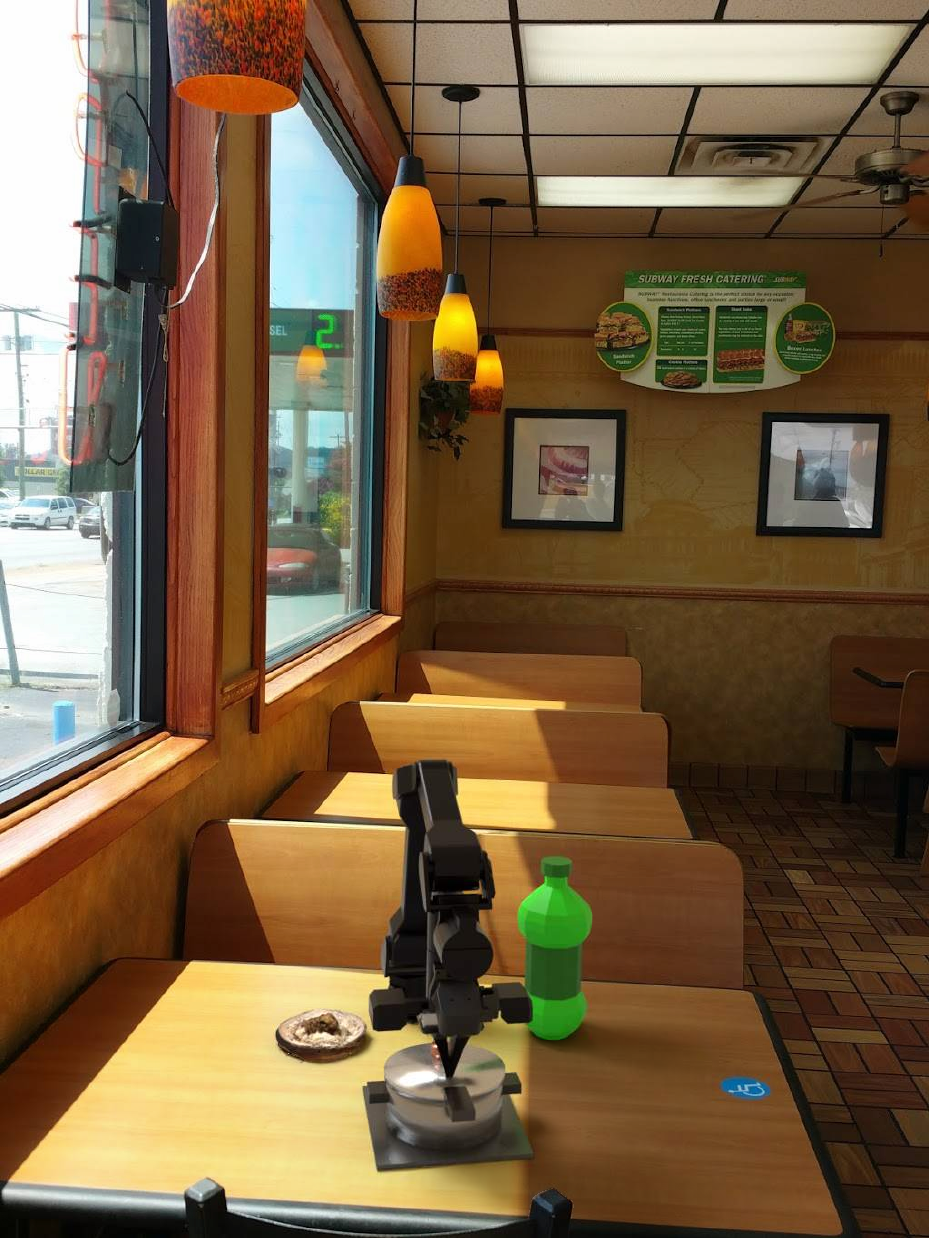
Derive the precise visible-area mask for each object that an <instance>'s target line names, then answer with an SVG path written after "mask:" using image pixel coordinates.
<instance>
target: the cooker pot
mask: <svg viewBox="0 0 929 1238" xmlns="http://www.w3.org/2000/svg"><path fill="white" fill-rule="evenodd" d="M522 1085H523V1084H522V1081H521V1079H520V1077H519V1075H518V1073H517V1071H516V1072H515V1071H513V1072H505V1081H504V1083H503V1085H502V1086H501V1087H500V1088H499V1089H498V1090H496V1091H495V1092H493V1093H491V1094H489V1095H487V1096H484V1097H481V1098H478V1099H474V1100H472V1102H473V1105H474V1107H475V1110H476V1118H475V1121H464V1122H452V1121H451V1118H450V1115H449V1112H448V1110H447V1107H446V1104H445V1103H438V1102H427V1101H421V1100H416V1099H413V1098H409V1097H406V1096H404V1095H401V1094H399V1093H397V1092H395V1091H394V1090H392V1089H391V1088H390V1087H389V1086H388V1085H387V1083H386V1082H385V1080H375V1081H373V1080H371V1081H366V1085H362V1094H363V1101H364V1105H365V1112H366V1118H367V1123H368V1129H369V1135H370V1140H371V1145H372V1153H373V1157H374V1162H375V1163H374V1164H375V1168H376V1169H375V1170H376V1171H388V1170H401V1169H414V1168H424V1167H423V1166H427V1167H436V1166H437V1167H439V1166H440V1167H441V1166H450V1165H464V1164H477V1163H488V1162H489V1163H490V1162H503V1161H514V1160H515V1161H516V1160H529V1159H530V1160H531V1159H534V1151H533V1148H532V1146H531V1144H530V1142H529V1139H528V1136H527V1135H526V1132H525V1129H524V1127H523V1125H522V1123H521V1120H520V1118H519V1116H518V1113H517V1110H516V1108H515V1107H514V1103H513V1102H512V1099H511V1096H510V1095H521V1094H522V1091H523V1090H522V1089H523V1088H522ZM427 1167H426V1168H427Z"/></svg>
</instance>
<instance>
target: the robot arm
mask: <svg viewBox="0 0 929 1238" xmlns="http://www.w3.org/2000/svg"><path fill="white" fill-rule="evenodd" d="M391 778H392V779H391V780H392V781H391V782H392V783H391V792H392V799H393V800H395V802H396V807H397V811H398V815H399V818H400V819H401V821H402V823H403V824H404V825H405V830H404V831H405V832H404V846H403V848H404V849H403V862H402V864H403V865H402V880H401V896H400V897H401V898H400V899H401V900H400V907H399V908H397V910H396V911H395V913H394V914H393V915H391V917H390V918H389V921H388V930H387V935H384V937H383V941H382V943H381V944H382V945H381V949H380V963H381V964H380V967H381V970H382V974H383V978H389V982H388V987H387V988H380V989H377V988H376V989H373V990H372V991H371V993H370V994H368V995H369V996H368V1015H369V1019H370V1023H371V1029H372V1031H375V1032H378V1033H380V1032H398V1031H402V1030H403V1029H404V1028H405V1026H407V1024H408V1023H412V1024H416V1023H418V1024H419V1025H418V1026H419V1029H420V1032H421V1033H422V1034H424V1035H427V1036H428V1035H430V1036H431V1038H432V1039H433V1042H435V1044H436V1046H437V1049H438V1052H439V1056H440V1059H441V1062H442V1066H443V1069H444V1073H445V1076H446V1078H449V1077H453V1076H454V1073H455V1070H456V1068H457V1065H458V1063H459V1060H460V1057H461V1055H462V1052H463V1050H464V1048H465V1046H466V1044H468V1042H469V1039H470V1038H471V1037H472V1036H474V1037H475V1036H478V1035H479V1034H480V1033H481V1032H483V1030H484V1029H485V1025H484V1024H486V1023H488V1024H489V1023H493V1020H498V1018H499V1017H500V1019H501V1020H503V1022H504V1023H505V1024H507V1025H515V1024H517V1025H518V1024H519V1025H520V1024H525V1023H530V1022H531V1021H533V1004H532V1000H531V998H530V996H529V994H528V993H527V991H526V989H525V985H523V984H522V983H521V982H520V981H516V982H514V981H513V982H497V983H492V984H491V986H487V987H486V986H485V985H480V984H479V979H480V978H482V977H483V976H484V975H485V974H486V973H488V971H489V969H490V968H491V967H492V966H491V965H492V963H493V961H494V948H493V946H492V942H491V940H490V939H489V937H488V935H487V933H486V931H485V930H484V927H483V926H482V923H481V921H480V911H490V910H491V911H493V899H495V898H496V887H495V886H496V885H495V881H494V874H493V866H492V861H491V859H490V858H489V855H488V852H487V851H486V850H485V849H483V848H482V845H481V842H480V840H479V838H478V835H477V833H476V831H474V830H472V829H471V828H469V827H467V826H465V824H464V821H463V818H462V815H461V811H460V806H459V802H458V799H457V796H459V785H458V784H459V781H458V779H459V777H458V767H456V766H454V765H453V762H452V761H449V760H447V759H445V758H444V759H443V758H442V759H441V758H439V759H438V758H437V759H418V760H417V761H413V762H412V763H411V764H409V765H401V767H398V768H396V769H395V771H393V773H392V777H391ZM480 887H481V893H480V892H479V893H464V892H476V891H479V890H480ZM448 1038H449V1039H448ZM448 1042H449V1050H448Z"/></svg>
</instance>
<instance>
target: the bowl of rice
mask: <svg viewBox="0 0 929 1238" xmlns="http://www.w3.org/2000/svg"><path fill="white" fill-rule="evenodd" d="M367 1028H368V1026H367V1024H366V1022H365V1021H364V1020H363V1018H361V1017H360V1016H358V1015H356V1014H353V1013H350V1012H347V1011H345V1010H344V1011H342V1010H341V1009H330V1008H329V1009H328V1008H316V1009H310V1010H306V1011H303V1012H301V1013H299V1014H296V1015H294V1016H291V1017H289V1018H288V1019H286V1020H284V1021H283V1022H281V1023H280V1024H279V1025H278V1027H277V1029H276V1030H275V1032H274V1033H275V1035H274V1037H275V1040H276V1042H278V1043H277V1046H279V1047H280V1048H281V1047H282V1048H281V1051H282V1052H283V1053H285V1054H286V1053H289V1054H291V1055H290V1056H293V1055H294V1056H293V1057H296V1056H297V1058H298V1057H300V1058H299V1059H300V1064H303V1063H304V1062H307V1063H311V1062H315V1061H317V1062H316V1063H318V1062H319V1063H320V1062H321V1063H323V1062H322V1061H324V1062H329V1061H330V1060H331V1061H335V1060H339V1059H342V1058H341V1057H343V1058H345V1057H344V1056H346V1057H348V1056H347V1055H349V1054H350V1053H352V1054H353V1055H355V1056H356V1055H357V1054H356V1051H358V1050H359V1049H361V1048H362V1045H363V1043H364V1042H365V1041H366V1039H364V1037H365V1036H366V1032H367V1030H368V1029H367ZM364 1035H365V1036H364ZM289 1054H287V1055H285V1057H288V1055H289ZM350 1055H351V1054H350ZM350 1055H349V1056H350ZM301 1058H303V1059H301ZM338 1058H339V1059H338ZM334 1059H335V1060H334ZM304 1060H305V1061H304Z"/></svg>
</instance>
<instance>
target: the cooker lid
mask: <svg viewBox="0 0 929 1238" xmlns="http://www.w3.org/2000/svg"><path fill="white" fill-rule="evenodd" d="M448 1050H449V1041H448ZM505 1073H506V1064H505V1062H504V1060H503V1059H502V1058H501V1057H500V1056H498V1055H497V1054H496V1053H494V1052H492V1051H491V1050H488V1049H486V1048H483V1047H481V1046H477V1045H473V1044H468V1043H467V1044H466V1046H465V1048H464V1050H463V1052H462V1055H461V1057H460V1060H459V1063H458V1065H457V1068H456V1070H455V1073H454V1076H453V1077H449V1078H446V1076H445V1073H444V1069H443V1066H442V1062H441V1059H440V1056H439V1052H438V1049H437V1046H436V1044H435V1042H434V1041H432V1042H427V1043H420V1044H414V1045H411V1046H408V1047H405V1048H402V1049H400V1050H397V1051H396V1052H394V1053H393V1054H392V1055H390V1056H389V1057H388V1058H387V1059H386V1061H385V1063H384V1065H383V1079H384V1081H385V1082H386V1083H387V1085H388V1086H389V1087H390V1088H391V1089H392V1090H394V1091H395V1092H397V1093H399V1094H401V1095H404V1096H406V1097H409V1098H413V1099H416V1100H421V1101H427V1102H438V1103H445V1104H446V1107H447V1110H448V1112H449V1115H450V1118H451V1121H452V1122H464V1121H475V1118H476V1110H475V1107H474V1105H473V1102H472V1100H474V1099H478V1098H481V1097H484V1096H487V1095H489V1094H491V1093H493V1092H495V1091H496V1090H498V1089H499V1088H500V1087H501V1086H502V1085H503V1083H504V1081H505Z"/></svg>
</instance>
